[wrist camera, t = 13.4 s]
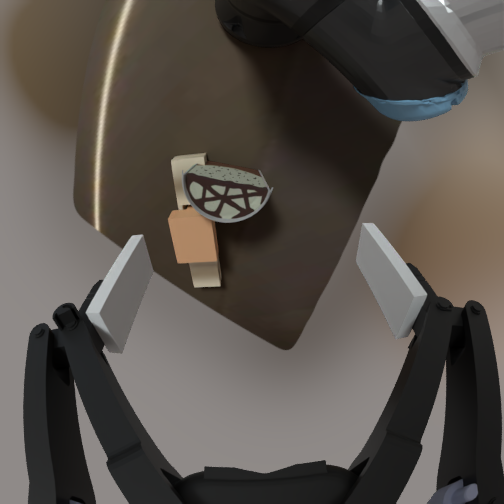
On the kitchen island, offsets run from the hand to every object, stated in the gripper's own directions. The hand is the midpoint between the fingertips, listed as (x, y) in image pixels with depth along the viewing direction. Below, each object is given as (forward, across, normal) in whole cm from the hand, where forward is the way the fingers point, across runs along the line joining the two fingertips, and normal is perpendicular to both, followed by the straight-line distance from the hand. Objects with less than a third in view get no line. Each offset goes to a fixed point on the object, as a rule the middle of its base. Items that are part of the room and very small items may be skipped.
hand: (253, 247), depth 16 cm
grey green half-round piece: (+29, -4, -5) cm, 30 cm away
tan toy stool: (+29, -9, -12) cm, 32 cm away
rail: (+29, -9, -12) cm, 32 cm away
